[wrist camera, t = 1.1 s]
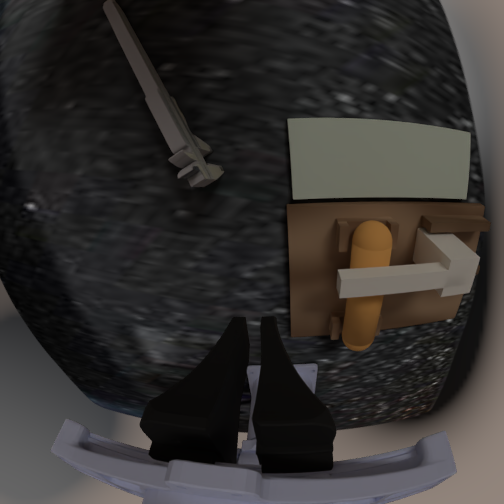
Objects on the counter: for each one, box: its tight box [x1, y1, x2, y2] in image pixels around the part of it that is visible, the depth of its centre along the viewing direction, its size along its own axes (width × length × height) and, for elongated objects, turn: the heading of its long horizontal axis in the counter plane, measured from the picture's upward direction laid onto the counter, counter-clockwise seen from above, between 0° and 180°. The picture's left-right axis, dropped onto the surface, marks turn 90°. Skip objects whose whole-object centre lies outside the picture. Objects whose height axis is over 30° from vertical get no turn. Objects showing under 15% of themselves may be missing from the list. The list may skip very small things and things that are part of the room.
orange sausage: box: [342, 220, 392, 351], centre depth 20 cm, size 12×3×3 cm, turn 5°
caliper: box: [103, 0, 224, 187], centre depth 14 cm, size 20×1×6 cm, turn 30°
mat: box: [287, 118, 470, 200], centre depth 18 cm, size 6×16×1 cm, turn 95°
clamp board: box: [287, 201, 491, 340], centre depth 21 cm, size 13×19×3 cm
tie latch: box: [336, 228, 480, 298], centre depth 18 cm, size 3×11×6 cm, turn 95°
